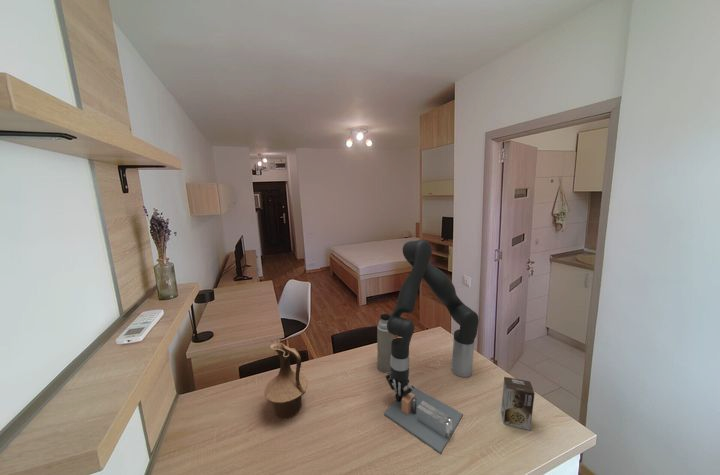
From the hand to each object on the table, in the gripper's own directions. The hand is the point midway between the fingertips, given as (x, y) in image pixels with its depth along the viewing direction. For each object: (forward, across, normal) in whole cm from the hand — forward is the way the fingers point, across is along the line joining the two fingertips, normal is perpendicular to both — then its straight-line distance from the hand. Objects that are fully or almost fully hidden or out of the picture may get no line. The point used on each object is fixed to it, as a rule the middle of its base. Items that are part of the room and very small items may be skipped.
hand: (399, 400), depth 110 cm
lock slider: (+1, +4, 0) cm, 5 cm away
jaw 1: (+1, +16, +1) cm, 16 cm away
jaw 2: (+1, +16, -1) cm, 16 cm away
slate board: (+2, +10, +2) cm, 10 cm away
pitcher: (+2, -34, -31) cm, 46 cm away
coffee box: (+2, +38, +23) cm, 45 cm away
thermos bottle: (+2, -18, +15) cm, 23 cm away
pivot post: (+2, +7, 0) cm, 7 cm away
